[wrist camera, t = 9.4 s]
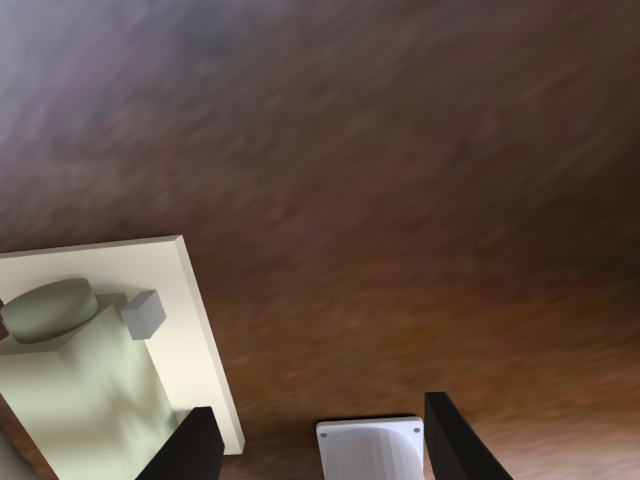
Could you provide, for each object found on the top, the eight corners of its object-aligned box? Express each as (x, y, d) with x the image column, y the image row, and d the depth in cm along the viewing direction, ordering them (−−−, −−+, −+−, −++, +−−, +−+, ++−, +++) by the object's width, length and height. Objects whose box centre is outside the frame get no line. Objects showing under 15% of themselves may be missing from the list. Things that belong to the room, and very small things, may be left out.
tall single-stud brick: (181, 429, 23) (143, 508, 18) (130, 432, 23) (81, 511, 19) (114, 269, 18) (40, 322, 13) (51, 275, 18) (-43, 329, 14)
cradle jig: (245, 441, 25) (234, 482, 22) (105, 448, 26) (78, 489, 23) (181, 234, 18) (155, 255, 15) (-5, 253, 19) (-62, 277, 16)
